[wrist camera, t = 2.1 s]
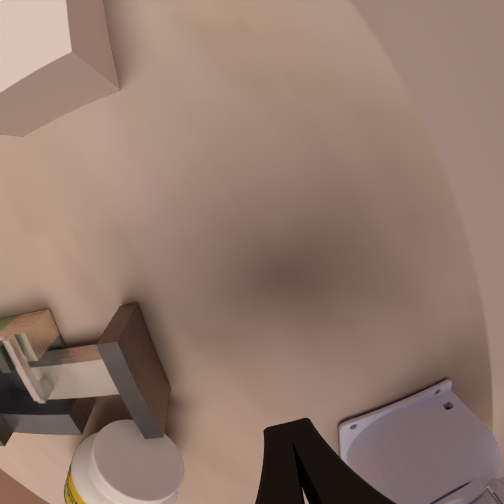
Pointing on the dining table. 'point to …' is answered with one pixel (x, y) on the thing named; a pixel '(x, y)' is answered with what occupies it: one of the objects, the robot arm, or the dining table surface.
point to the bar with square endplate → (104, 371)
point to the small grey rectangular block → (5, 360)
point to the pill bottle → (124, 468)
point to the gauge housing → (17, 395)
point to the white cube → (51, 61)
